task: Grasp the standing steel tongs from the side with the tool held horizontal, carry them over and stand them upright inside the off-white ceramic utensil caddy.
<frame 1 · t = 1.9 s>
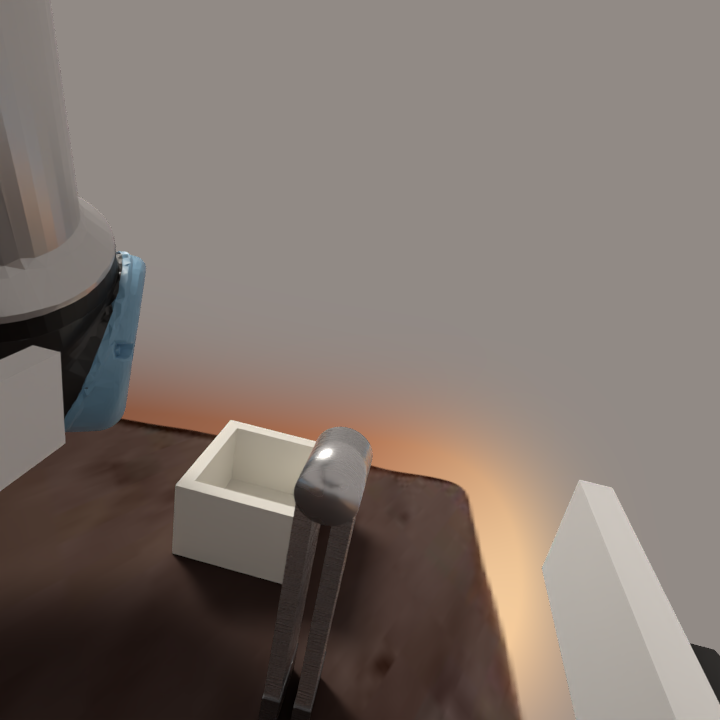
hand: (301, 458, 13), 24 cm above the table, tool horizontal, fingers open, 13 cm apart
caddy: (256, 526, 43), on the table
tongs: (290, 699, 31), on the table
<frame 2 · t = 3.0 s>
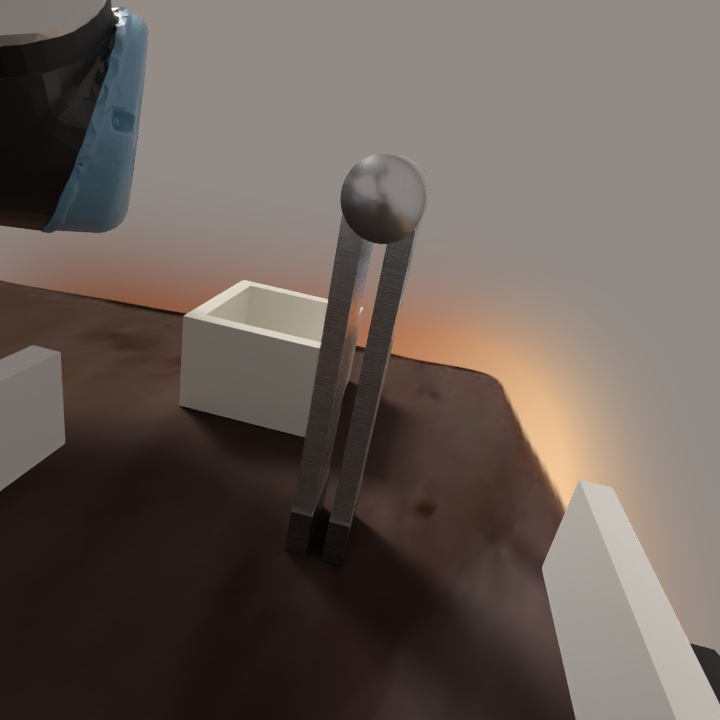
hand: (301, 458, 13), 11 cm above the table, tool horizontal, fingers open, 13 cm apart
caddy: (273, 391, 39), on the table
tongs: (322, 531, 26), on the table
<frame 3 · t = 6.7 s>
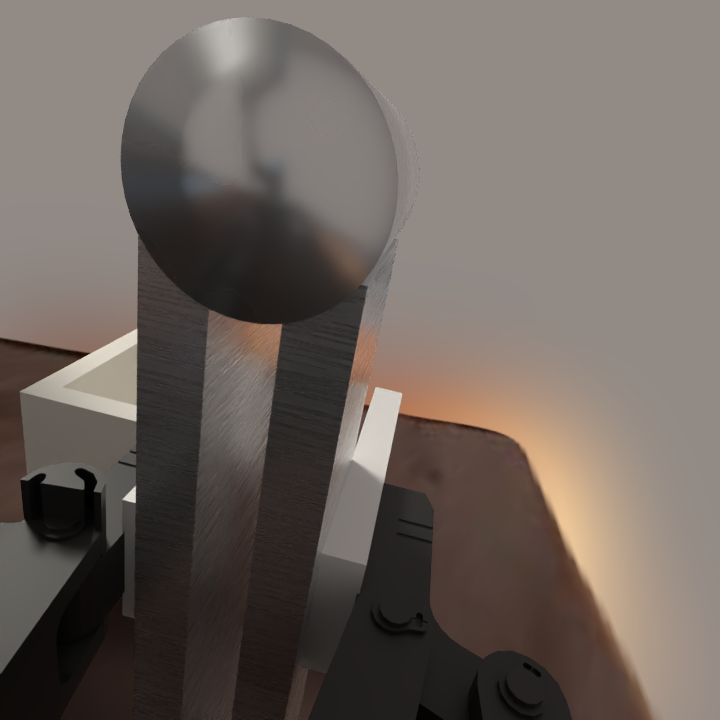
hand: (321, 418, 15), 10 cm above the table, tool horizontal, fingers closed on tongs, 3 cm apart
caddy: (194, 485, 26), on the table
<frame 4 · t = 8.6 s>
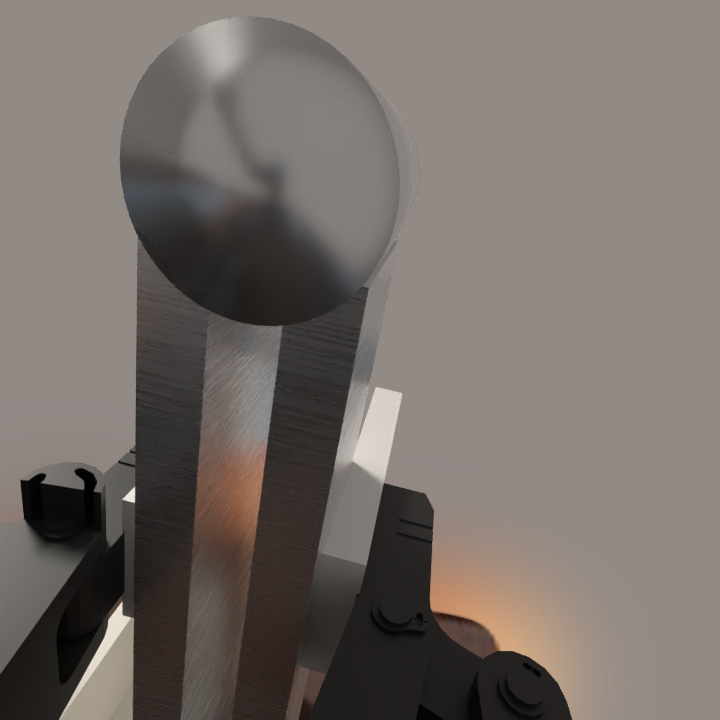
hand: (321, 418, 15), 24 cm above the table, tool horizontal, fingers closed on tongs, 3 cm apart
when the fingers open (12 cm above the table, at t = 11.6 s): tongs drops 1 cm, resting on caddy.
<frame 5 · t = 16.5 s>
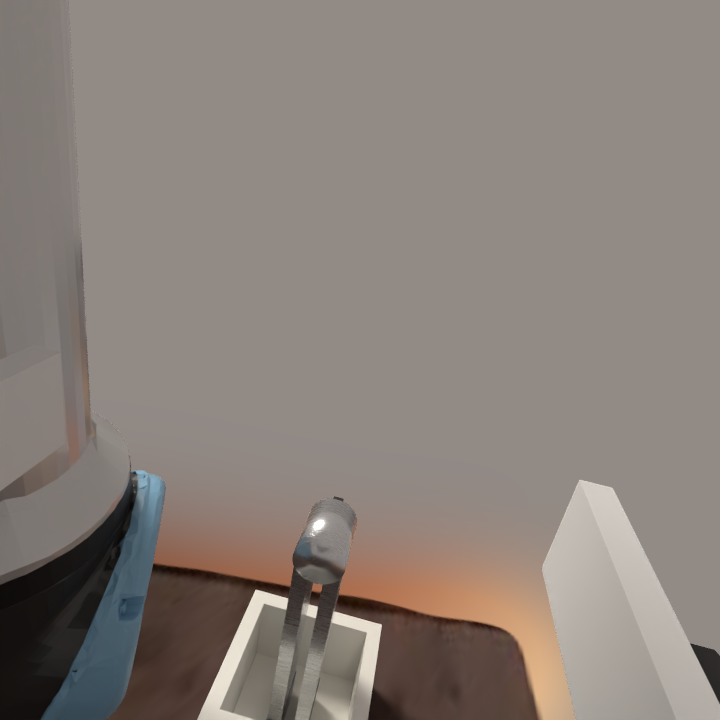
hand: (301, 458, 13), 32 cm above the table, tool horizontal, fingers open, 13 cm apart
tongs: (290, 719, 36), point 1 cm above the table, touching caddy
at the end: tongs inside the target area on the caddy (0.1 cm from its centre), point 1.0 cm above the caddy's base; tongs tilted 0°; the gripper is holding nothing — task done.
